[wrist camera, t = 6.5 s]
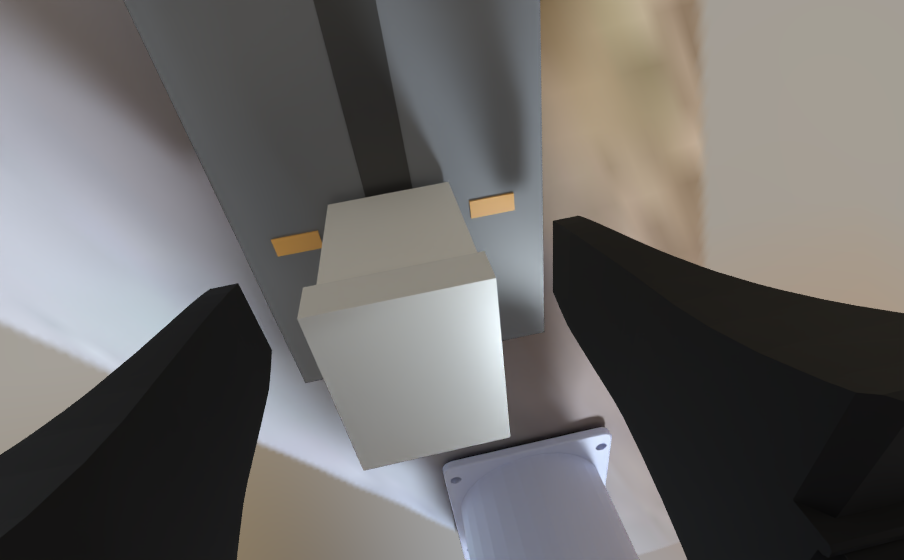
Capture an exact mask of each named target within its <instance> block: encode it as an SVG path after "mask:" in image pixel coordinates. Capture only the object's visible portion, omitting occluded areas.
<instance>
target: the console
mask: <svg viewBox="0 0 904 560" xmlns="http://www.w3.org/2000/svg"><path fill="white" fill-rule="evenodd" d="M123 1H124V3H125V5H126V7H127V9H128V11H129V13H130V15H131V17H132V20H133V22H134V24H135V26H136V28H137V30H138V32H139V34H140V36H141V38H142V41H143V43H144V45H145V47H146V49H147V51H148V53H149V55H150V57H151V59H152V62H153V64H154V66H155V68H156V70H157V72H158V74H159V76H160V78H161V80H162V83H163V85H164V87H165V89H166V91H167V93H168V95H169V97H170V99H171V101H172V104H173V106H174V108H175V110H176V112H177V114H178V116H179V118H180V120H181V122H182V125H183V127H184V129H185V131H186V133H187V135H188V137H189V139H190V141H191V143H192V146H193V148H194V150H195V152H196V154H197V156H198V158H199V160H200V162H201V164H202V167H203V169H204V171H205V173H206V175H207V177H208V179H209V181H210V183H211V185H212V188H213V190H214V192H215V194H216V196H217V198H218V200H219V202H220V204H221V206H222V209H223V211H224V213H225V215H226V217H227V219H228V221H229V223H230V225H231V227H232V230H233V232H234V234H235V236H236V238H237V240H238V242H239V244H240V246H241V249H242V251H243V253H244V255H245V257H246V259H247V261H248V263H249V265H250V267H251V270H252V272H253V274H254V276H255V278H256V280H257V282H258V284H259V286H260V288H261V291H262V293H263V295H264V297H265V299H266V301H267V303H268V305H269V307H270V309H271V312H272V314H273V316H274V318H275V320H276V322H277V324H278V326H279V328H280V330H281V333H282V335H283V337H284V339H285V341H286V343H287V345H288V347H289V349H290V351H291V354H292V356H293V358H294V360H295V362H296V364H297V366H298V368H299V370H300V372H301V375H302V377H303V379H304V381H305V383H308V382H312V381H317V380H322V379H323V377H322V374H321V372H320V370H319V368H318V365H317V363H316V361H315V358H314V356H313V354H312V352H311V349H310V347H309V345H308V342H307V340H306V338H305V336H304V333H303V331H302V329H301V326H300V324H299V322H298V320H297V317H298V312H299V306H300V301H301V295H302V290H303V287H308V286H313V285H316V284H317V277H318V270H319V263H320V256H321V249H322V242H323V235H324V228H325V221H326V214H327V207H328V205H329V204H334V203H340V202H345V201H350V200H355V199H360V198H366V197H371V196H376V195H381V194H387V193H392V192H397V191H402V190H408V189H413V188H418V187H423V186H429V185H434V184H439V183H444V182H449V184H450V187H451V189H452V192H453V194H454V197H455V199H456V202H457V204H458V206H459V209H460V211H461V214H462V216H463V219H464V221H465V223H466V226H467V228H468V231H469V233H470V236H471V238H472V241H473V243H474V245H475V248H476V250H477V252H482V251H485V254H486V256H487V258H488V261H489V263H490V265H491V267H492V270H493V272H494V274H495V277H496V282H497V294H498V305H499V316H500V327H501V338H502V341H504V340H509V339H513V338H518V337H523V336H527V335H532V334H537V333H541V332H544V275H543V197H542V119H541V41H540V0H123Z"/></svg>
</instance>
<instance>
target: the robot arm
mask: <svg viewBox="0 0 904 560" xmlns="http://www.w3.org/2000/svg"><path fill="white" fill-rule="evenodd" d="M553 293H554V295H555V298H556V300H557V302H558V305H559V307H560V309H561V312H562V314H563V316H564V318H565V321H566V323H567V325H568V327H569V328H570V330H571V332H572V333H573V335H574V337H575V338H576V340H577V342H578V343H579V345H580V347H581V348H582V350H583V351H584V353H585V355H586V356H587V358H588V360H589V361H590V363H591V364H592V366H593V368H594V369H595V371H596V372H597V374H598V376H599V377H600V379H601V380H602V382H603V384H604V385H605V387H606V388H607V390H608V392H609V393H610V395H611V396H612V398H613V400H614V401H615V403H616V405H617V407H618V409H619V410H620V412H621V414H622V416H623V417H624V420H625V422H626V424H627V426H628V428H629V430H630V432H631V434H632V436H633V438H634V440H635V442H636V444H637V446H638V448H639V451H640V453H641V455H642V457H643V459H644V461H645V463H646V466H647V468H648V470H649V472H650V474H651V477H652V479H653V481H654V483H655V485H656V488H657V490H658V492H659V494H660V496H661V498H662V501H663V503H664V505H665V508H666V510H667V512H668V515H669V517H670V519H671V522H672V524H673V526H674V529H675V531H676V533H677V536H678V538H679V540H680V543H681V545H682V547H683V550H684V552H685V555H686V557H687V560H904V313H898V312H892V311H886V310H880V309H873V308H867V307H860V306H855V305H849V304H845V303H839V302H834V301H828V300H824V299H819V298H814V297H810V296H805V295H801V294H797V293H792V292H788V291H783V290H779V289H775V288H771V287H767V286H763V285H759V284H756V283H752V282H749V281H746V280H742V279H739V278H736V277H732V276H729V275H726V274H722V273H719V272H716V271H713V270H710V269H707V268H704V267H701V266H698V265H696V264H693V263H690V262H688V261H685V260H682V259H680V258H677V257H674V256H672V255H669V254H667V253H665V252H662V251H660V250H657V249H655V248H652V247H650V246H648V245H645V244H643V243H641V242H639V241H636V240H634V239H632V238H630V237H627V236H625V235H623V234H621V233H619V232H616V231H614V230H612V229H610V228H607V227H605V226H603V225H601V224H598V223H596V222H594V221H591V220H589V219H586V218H584V217H581V216H575V217H570V218H565V219H560V220H555V221H553ZM271 355H272V350H271V348H270V346H269V344H268V342H267V340H266V338H265V336H264V334H263V332H262V330H261V328H260V326H259V324H258V322H257V320H256V318H255V316H254V314H253V312H252V310H251V308H250V306H249V304H248V302H247V300H246V298H245V296H244V294H243V292H242V290H241V288H240V286H239V284H233V285H228V286H223V287H218V288H213V289H210V290H208V291H207V292H205V293H204V294H203V295H201V296H200V297H199V298H198V299H196V300H195V301H194V302H193V303H192V304H190V305H189V306H188V307H187V308H186V309H185V310H183V311H182V312H181V313H180V314H179V315H178V316H177V317H176V318H174V319H173V320H172V321H171V322H170V323H169V324H168V325H167V326H166V327H164V328H163V329H162V330H161V331H160V332H159V333H158V334H157V335H155V336H154V337H153V338H152V339H151V340H150V341H149V342H148V343H146V344H145V345H144V346H143V347H142V348H141V349H140V350H139V351H137V352H136V353H135V354H134V355H133V356H132V357H130V358H129V359H128V360H127V361H126V362H124V363H123V364H122V365H121V366H120V367H118V368H117V369H116V370H115V371H114V372H112V373H111V374H110V375H109V376H107V377H106V378H105V379H104V380H103V381H101V382H100V383H99V384H98V385H97V386H96V387H94V388H93V389H92V390H91V391H89V392H88V393H87V394H85V395H84V396H83V397H82V398H80V399H79V400H78V401H76V402H75V403H74V404H72V405H71V406H70V407H68V408H67V409H66V410H65V411H64V412H62V413H60V414H59V415H58V416H56V417H55V418H53V419H52V420H51V421H49V422H48V423H47V424H45V425H44V426H42V427H41V428H40V429H38V430H37V431H35V432H34V433H33V434H31V435H30V436H28V437H27V438H25V439H24V440H22V441H21V442H19V443H18V444H16V445H15V446H13V447H12V448H10V449H9V450H7V451H5V452H4V453H2V454H1V455H0V560H237V551H238V543H239V535H240V526H241V517H242V510H243V503H244V497H245V492H246V487H247V482H248V477H249V473H250V469H251V465H252V460H253V456H254V452H255V448H256V444H257V439H258V435H259V431H260V427H261V422H262V418H263V414H264V409H265V405H266V400H267V396H268V391H269V382H270V372H271ZM611 439H612V436H611V434H610V432H609V430H608V429H607V428H604V427H599V428H594V429H590V430H586V431H581V432H577V433H572V434H568V435H564V436H559V437H555V438H551V439H546V440H542V441H537V442H533V443H529V444H524V445H520V446H516V447H511V448H507V449H502V450H498V451H494V452H489V453H485V454H481V455H476V456H472V457H467V458H463V459H459V460H454V461H451V462H448V463H447V464H445V465H444V467H443V475H444V479H445V483H446V487H447V491H448V495H449V499H450V503H451V507H452V510H453V514H454V518H455V522H456V526H457V530H458V534H459V538H460V542H461V546H462V550H463V554H464V557H465V559H466V560H639V557H638V555H637V553H636V551H635V549H634V547H633V545H632V543H631V540H630V538H629V536H628V534H627V532H626V530H625V528H624V526H623V523H622V521H621V519H620V517H619V515H618V513H617V511H616V509H615V506H614V504H613V502H612V500H611V498H610V496H609V494H608V492H607V490H606V487H605V485H606V477H607V470H608V462H609V454H610V447H611Z"/></svg>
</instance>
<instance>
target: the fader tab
mask: <svg viewBox="0 0 904 560" xmlns="http://www.w3.org/2000/svg"><path fill="white" fill-rule="evenodd" d="M297 320H298V322H299V324H300V326H301V329H302V331H303V333H304V336H305V338H306V340H307V342H308V345H309V347H310V349H311V352H312V354H313V356H314V358H315V361H316V363H317V365H318V368H319V370H320V372H321V374H322V377H323V379H324V381H325V384H326V386H327V388H328V390H329V393H330V395H331V397H332V400H333V402H334V404H335V406H336V409H337V411H338V413H339V416H340V418H341V420H342V422H343V425H344V427H345V429H346V432H347V434H348V436H349V438H350V441H351V443H352V445H353V448H354V450H355V452H356V454H357V457H358V459H359V461H360V464H361V466H362V468H363V470H369V469H373V468H378V467H382V466H386V465H391V464H395V463H400V462H404V461H408V460H413V459H417V458H421V457H426V456H430V455H435V454H439V453H443V452H448V451H452V450H457V449H461V448H465V447H470V446H474V445H479V444H483V443H487V442H492V441H496V440H501V439H505V438H509V437H510V428H509V417H508V406H507V395H506V383H505V372H504V361H503V350H502V338H501V327H500V316H499V305H498V294H497V282H496V277H495V274H494V272H493V270H492V267H491V265H490V263H489V261H488V258H487V256H486V254H485V251H482V252H477V250H476V248H475V245H474V243H473V241H472V238H471V236H470V233H469V231H468V228H467V226H466V223H465V221H464V219H463V216H462V214H461V211H460V209H459V206H458V204H457V202H456V199H455V197H454V194H453V192H452V189H451V187H450V184H449V182H444V183H439V184H434V185H429V186H423V187H418V188H413V189H408V190H402V191H397V192H392V193H387V194H381V195H376V196H371V197H366V198H360V199H355V200H350V201H345V202H340V203H334V204H329V205H328V207H327V214H326V221H325V228H324V235H323V242H322V249H321V256H320V263H319V270H318V277H317V284H316V285H313V286H308V287H303V290H302V295H301V301H300V306H299V312H298V317H297Z"/></svg>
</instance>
